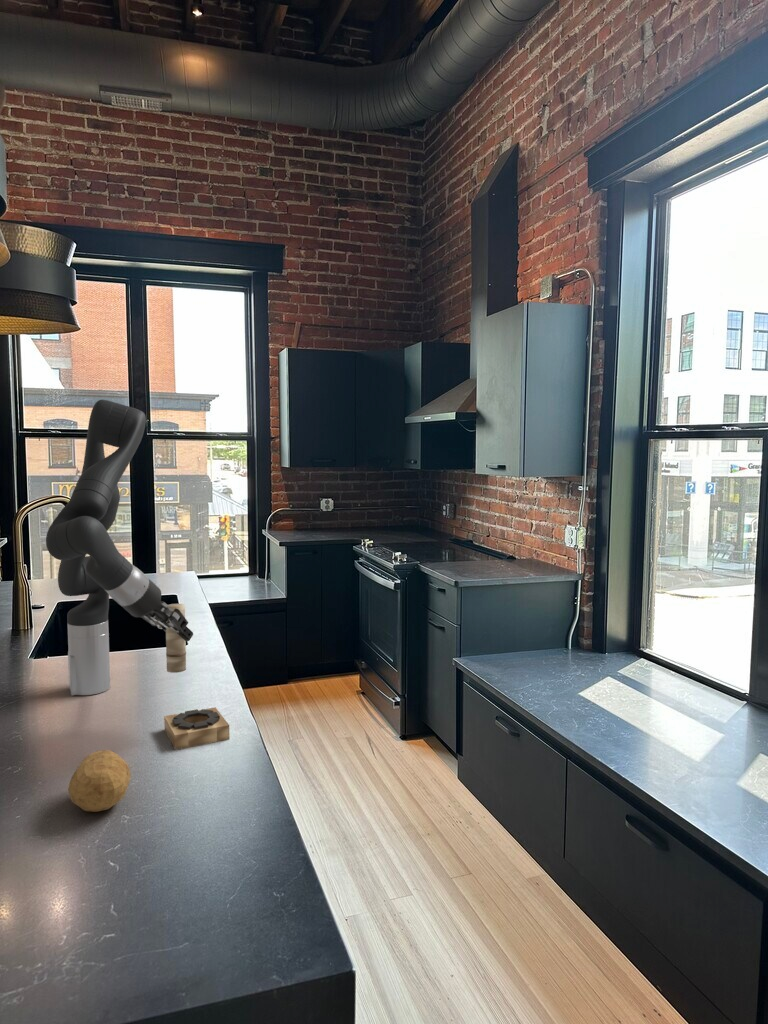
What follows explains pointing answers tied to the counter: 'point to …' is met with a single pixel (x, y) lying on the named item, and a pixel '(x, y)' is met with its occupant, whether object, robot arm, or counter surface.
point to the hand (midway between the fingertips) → (183, 635)
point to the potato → (99, 781)
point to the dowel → (175, 646)
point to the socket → (196, 728)
